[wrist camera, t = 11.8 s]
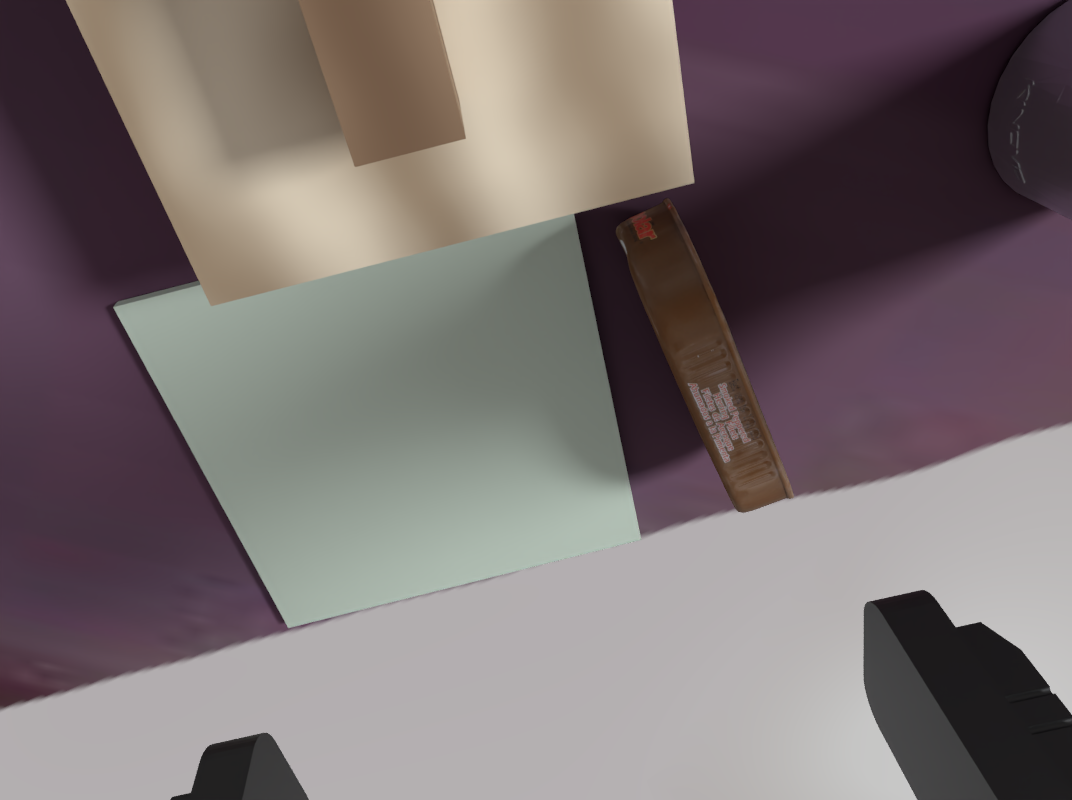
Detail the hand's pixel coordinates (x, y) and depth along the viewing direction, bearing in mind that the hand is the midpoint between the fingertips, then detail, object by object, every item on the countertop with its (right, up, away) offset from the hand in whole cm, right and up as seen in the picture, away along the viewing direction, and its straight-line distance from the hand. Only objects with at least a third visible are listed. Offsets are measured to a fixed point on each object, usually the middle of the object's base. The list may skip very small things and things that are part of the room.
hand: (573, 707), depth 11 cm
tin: (+6, +8, +29) cm, 31 cm away
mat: (-7, +3, +30) cm, 31 cm away
